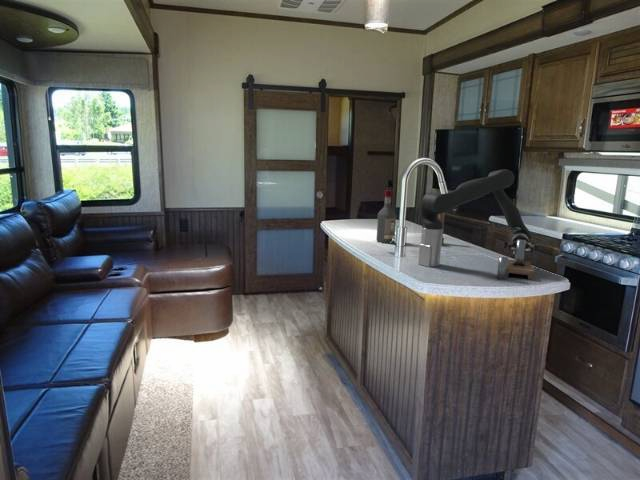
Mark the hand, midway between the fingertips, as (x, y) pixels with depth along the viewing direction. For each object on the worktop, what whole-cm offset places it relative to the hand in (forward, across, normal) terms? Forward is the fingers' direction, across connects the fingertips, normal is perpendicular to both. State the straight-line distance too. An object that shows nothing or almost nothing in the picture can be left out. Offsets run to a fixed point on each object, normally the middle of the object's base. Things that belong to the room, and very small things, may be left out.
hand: (520, 248), depth 196 cm
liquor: (-39, -71, +11) cm, 82 cm away
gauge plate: (+1, 0, +11) cm, 11 cm away
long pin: (+1, 0, +11) cm, 11 cm away
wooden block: (-49, -44, +11) cm, 67 cm away
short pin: (+14, -6, +11) cm, 19 cm away
